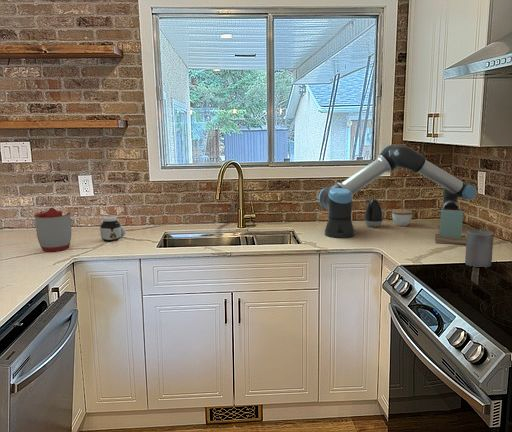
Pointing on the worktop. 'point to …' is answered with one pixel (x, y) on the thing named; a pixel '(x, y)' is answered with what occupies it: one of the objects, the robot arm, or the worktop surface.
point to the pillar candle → (479, 248)
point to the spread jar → (111, 229)
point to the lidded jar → (401, 217)
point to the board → (450, 240)
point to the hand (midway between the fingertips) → (452, 216)
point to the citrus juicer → (53, 230)
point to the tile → (451, 223)
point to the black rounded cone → (373, 213)
